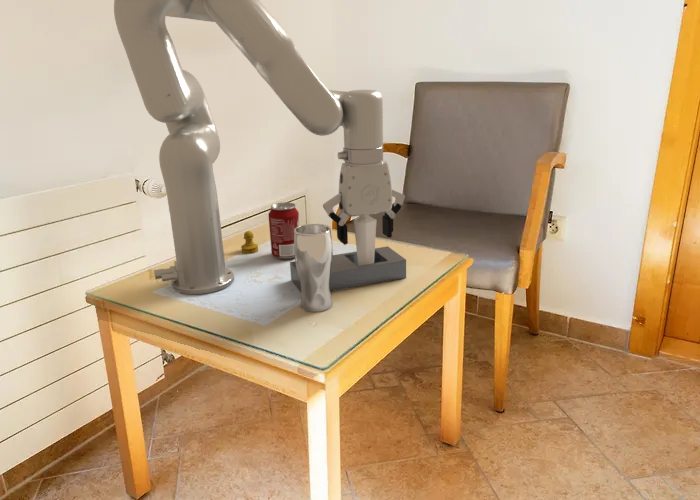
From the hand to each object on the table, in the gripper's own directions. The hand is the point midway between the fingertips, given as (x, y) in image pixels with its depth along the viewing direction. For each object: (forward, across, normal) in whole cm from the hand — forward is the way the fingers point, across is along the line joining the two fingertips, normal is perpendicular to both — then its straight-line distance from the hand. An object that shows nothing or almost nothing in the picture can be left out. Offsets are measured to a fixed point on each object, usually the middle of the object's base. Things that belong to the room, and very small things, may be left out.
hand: (365, 239), depth 121 cm
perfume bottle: (+8, 0, 0) cm, 8 cm away
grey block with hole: (+8, -4, 0) cm, 9 cm away
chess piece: (+8, -19, +26) cm, 33 cm away
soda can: (+8, -12, +19) cm, 24 cm away
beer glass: (+8, -14, -9) cm, 19 cm away
